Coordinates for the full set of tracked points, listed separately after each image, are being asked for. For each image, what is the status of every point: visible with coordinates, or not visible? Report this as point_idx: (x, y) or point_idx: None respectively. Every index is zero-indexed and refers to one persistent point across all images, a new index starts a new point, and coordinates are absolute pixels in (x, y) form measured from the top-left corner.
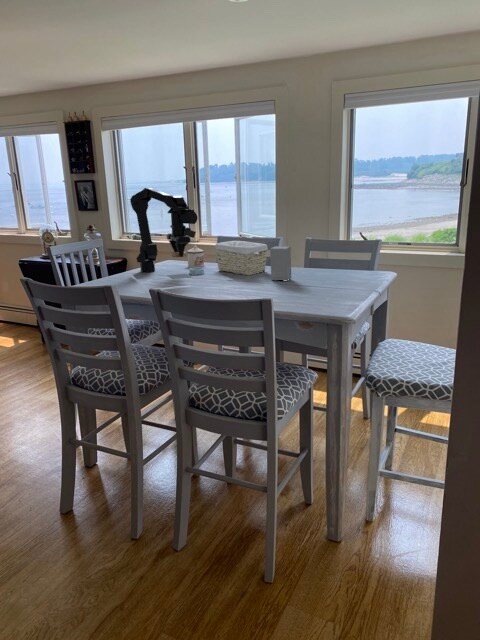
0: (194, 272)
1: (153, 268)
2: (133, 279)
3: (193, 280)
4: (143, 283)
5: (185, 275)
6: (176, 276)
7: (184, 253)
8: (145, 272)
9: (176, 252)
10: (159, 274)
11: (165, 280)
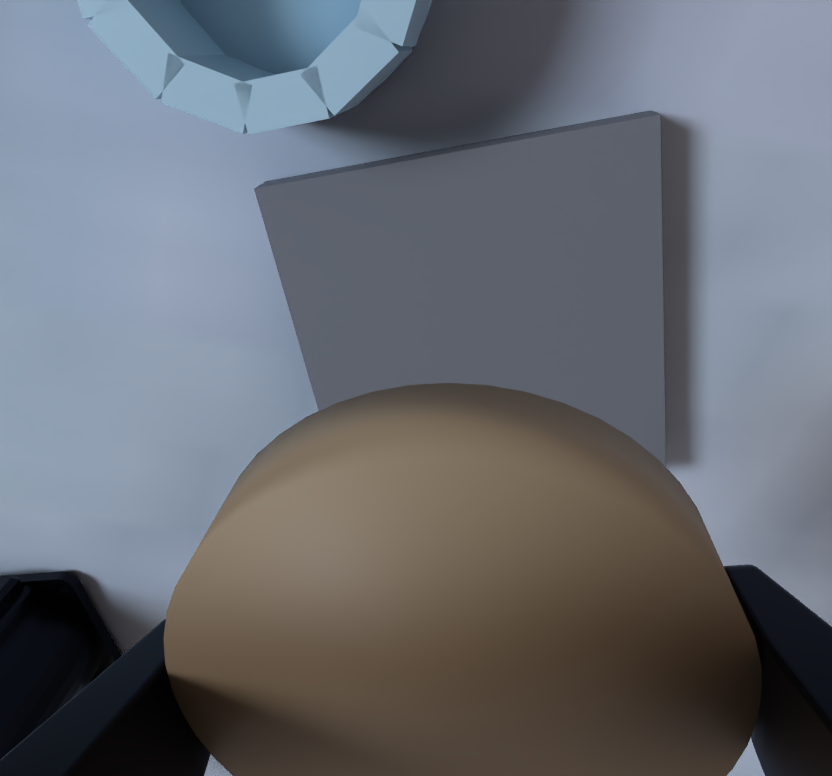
0: (416, 23)
1: (2, 628)
2: None
3: (799, 121)
4: None
5: (454, 233)
6: None
7: (712, 567)
8: (93, 675)
9: (363, 751)
10: (118, 530)
11: None
